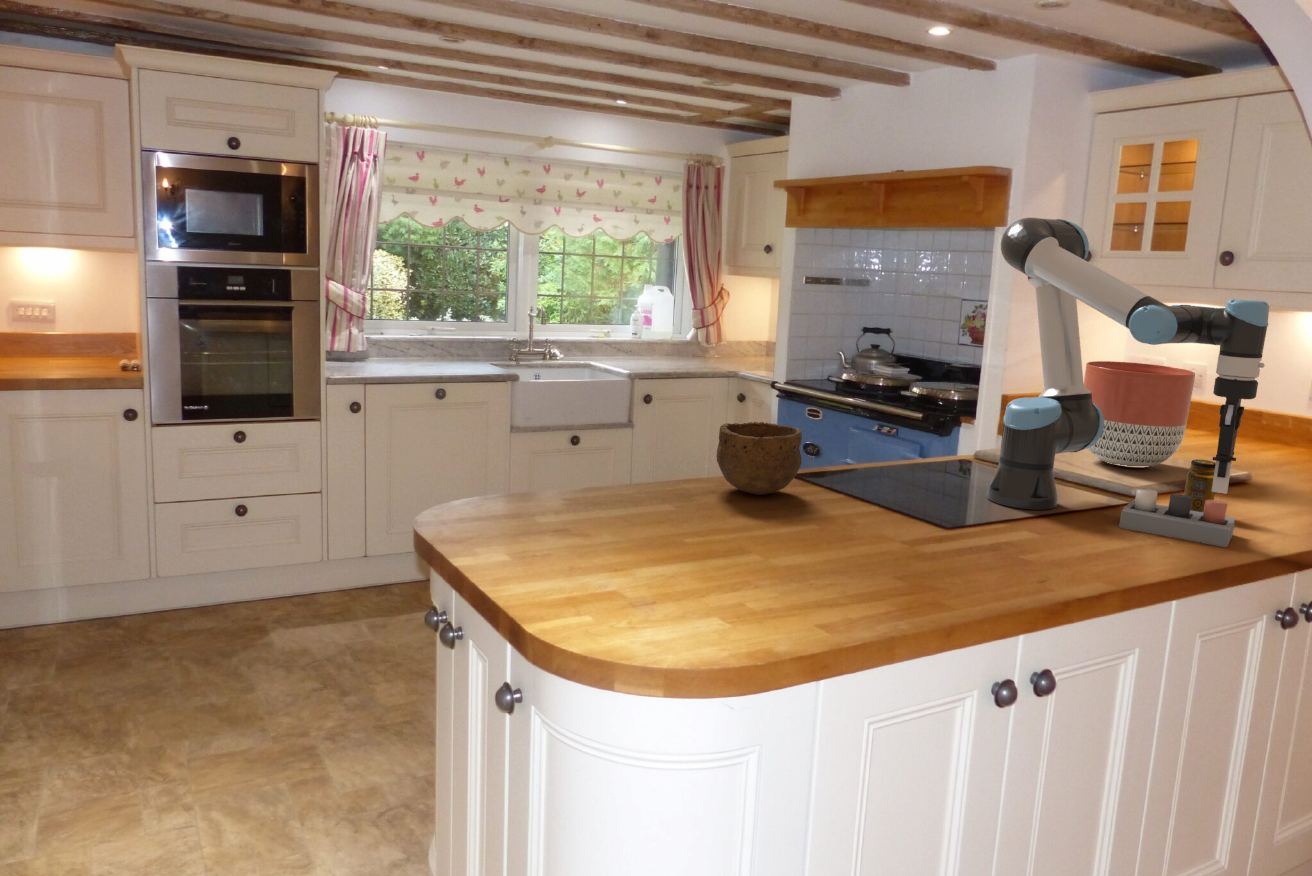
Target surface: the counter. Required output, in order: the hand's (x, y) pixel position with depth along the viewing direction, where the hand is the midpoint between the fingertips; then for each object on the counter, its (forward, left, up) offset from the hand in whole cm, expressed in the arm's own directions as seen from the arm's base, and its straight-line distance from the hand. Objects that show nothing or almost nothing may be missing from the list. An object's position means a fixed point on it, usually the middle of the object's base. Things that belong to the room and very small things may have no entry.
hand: (1219, 491), depth 206 cm
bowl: (-87, -37, -10) cm, 95 cm away
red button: (0, 0, -6) cm, 6 cm away
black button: (-7, 0, -6) cm, 9 cm away
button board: (-7, 0, -10) cm, 12 cm away
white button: (-13, 0, -6) cm, 15 cm away
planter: (-28, +65, -10) cm, 71 cm away
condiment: (-6, +20, -10) cm, 23 cm away
